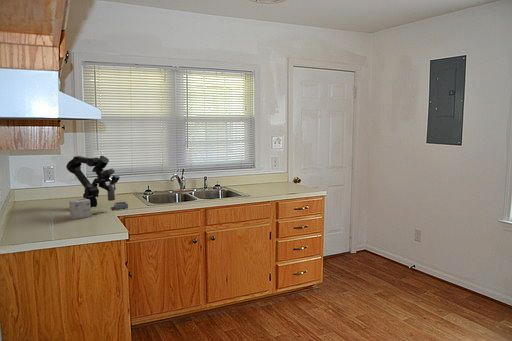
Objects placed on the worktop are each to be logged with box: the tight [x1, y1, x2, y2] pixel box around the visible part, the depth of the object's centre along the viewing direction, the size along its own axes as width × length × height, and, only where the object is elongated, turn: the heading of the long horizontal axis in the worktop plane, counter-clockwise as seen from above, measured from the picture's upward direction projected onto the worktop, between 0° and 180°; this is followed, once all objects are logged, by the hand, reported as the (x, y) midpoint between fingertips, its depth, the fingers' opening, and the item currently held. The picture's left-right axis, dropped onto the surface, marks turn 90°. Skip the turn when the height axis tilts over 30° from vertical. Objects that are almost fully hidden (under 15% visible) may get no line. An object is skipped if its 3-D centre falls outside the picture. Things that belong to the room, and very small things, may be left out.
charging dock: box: [113, 201, 129, 210], centre depth 278 cm, size 8×8×3 cm
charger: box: [106, 184, 116, 202], centre depth 269 cm, size 4×4×10 cm
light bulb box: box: [68, 198, 92, 220], centre depth 252 cm, size 11×7×11 cm, turn 141°
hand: (112, 190), depth 268 cm, fingers closed on charger, 4 cm apart
